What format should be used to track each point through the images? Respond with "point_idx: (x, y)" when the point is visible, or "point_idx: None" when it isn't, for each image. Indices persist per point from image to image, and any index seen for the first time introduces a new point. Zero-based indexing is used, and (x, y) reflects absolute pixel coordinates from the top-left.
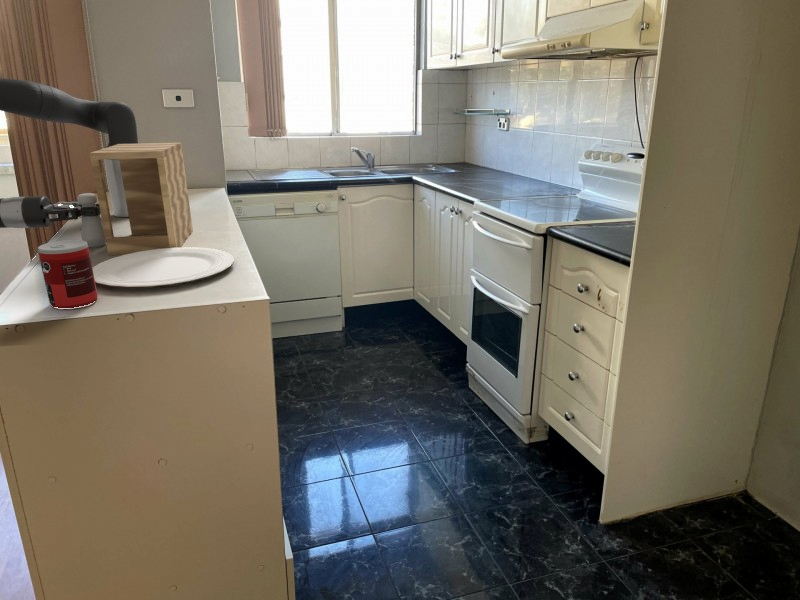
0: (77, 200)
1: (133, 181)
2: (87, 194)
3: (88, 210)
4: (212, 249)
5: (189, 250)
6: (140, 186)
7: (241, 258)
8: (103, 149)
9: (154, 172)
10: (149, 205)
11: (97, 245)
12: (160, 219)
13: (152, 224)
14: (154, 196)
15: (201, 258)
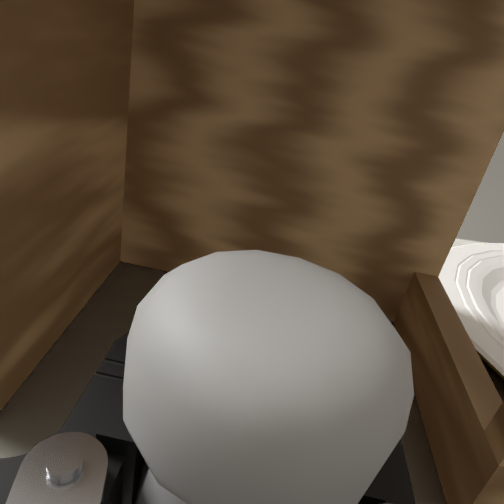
0: (318, 500)
1: (2, 40)
2: (336, 290)
3: (400, 453)
4: (455, 252)
5: (470, 282)
6: (31, 80)
7: (462, 243)
8: None
9: None
10: (55, 198)
11: None
12: (79, 252)
13: (58, 294)
14: (73, 137)
15: (502, 283)
